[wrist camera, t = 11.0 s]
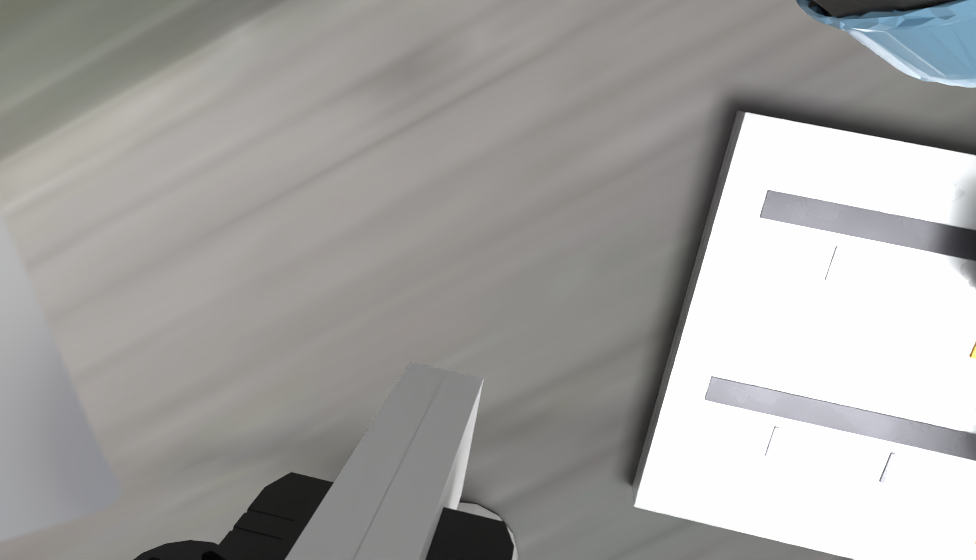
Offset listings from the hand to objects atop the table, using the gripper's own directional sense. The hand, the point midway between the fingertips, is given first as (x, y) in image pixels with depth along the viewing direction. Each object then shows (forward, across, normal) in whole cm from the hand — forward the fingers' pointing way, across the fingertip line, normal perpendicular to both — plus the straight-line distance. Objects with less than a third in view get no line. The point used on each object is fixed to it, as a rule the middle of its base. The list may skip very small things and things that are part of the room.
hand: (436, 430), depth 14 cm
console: (+24, +21, -4) cm, 32 cm away
